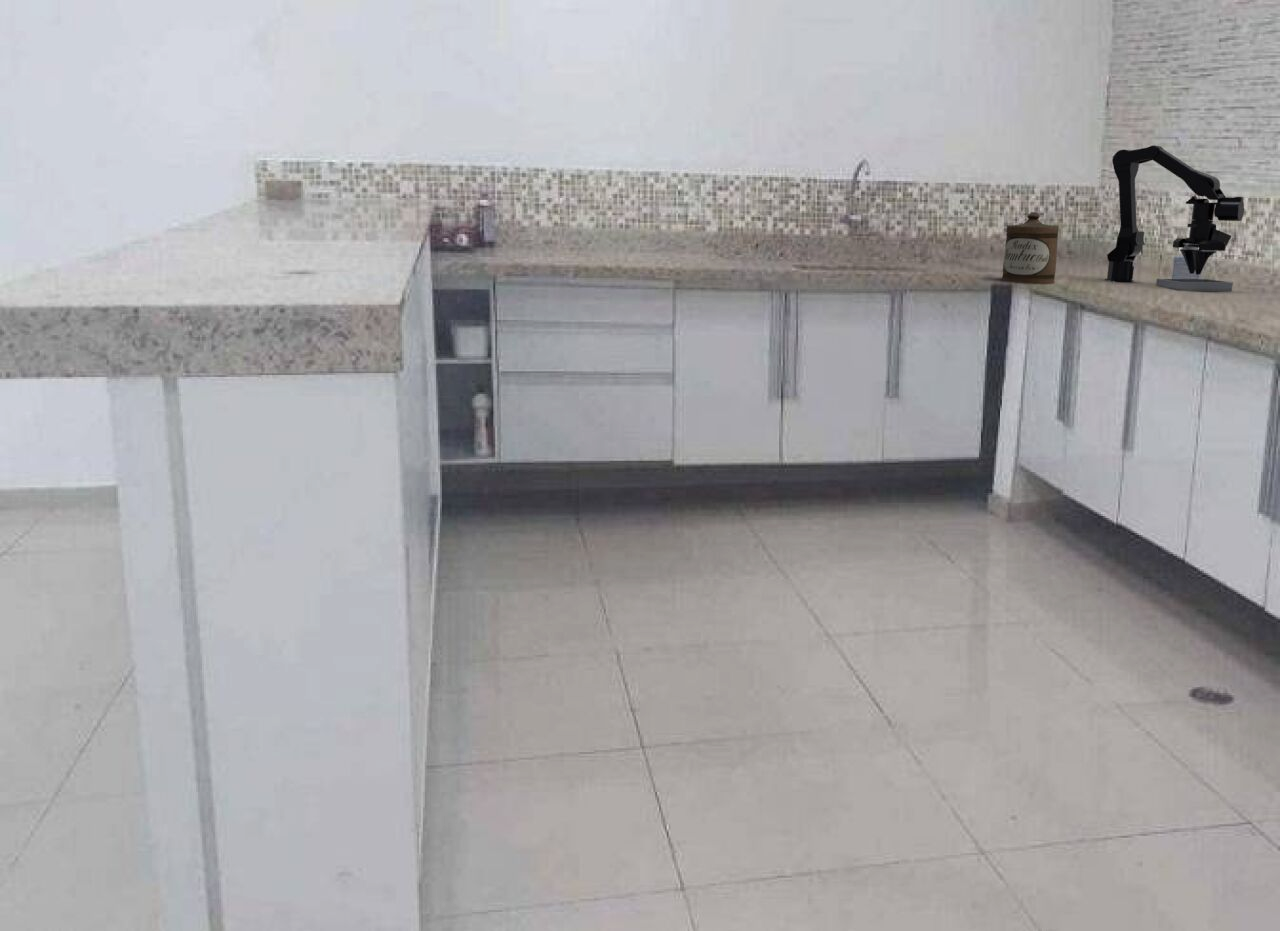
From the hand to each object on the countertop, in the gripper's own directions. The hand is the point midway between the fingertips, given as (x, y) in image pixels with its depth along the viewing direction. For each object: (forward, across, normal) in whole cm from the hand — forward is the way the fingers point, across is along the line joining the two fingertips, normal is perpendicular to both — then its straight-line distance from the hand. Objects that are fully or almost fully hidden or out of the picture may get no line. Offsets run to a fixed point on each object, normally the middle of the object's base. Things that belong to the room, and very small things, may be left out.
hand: (1194, 274), depth 321 cm
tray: (+4, 0, 0) cm, 4 cm away
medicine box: (+5, +17, -7) cm, 19 cm away
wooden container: (+5, +4, +49) cm, 49 cm away
